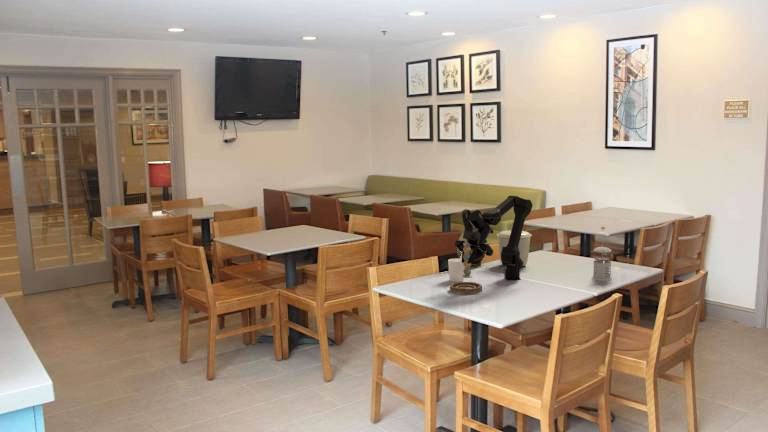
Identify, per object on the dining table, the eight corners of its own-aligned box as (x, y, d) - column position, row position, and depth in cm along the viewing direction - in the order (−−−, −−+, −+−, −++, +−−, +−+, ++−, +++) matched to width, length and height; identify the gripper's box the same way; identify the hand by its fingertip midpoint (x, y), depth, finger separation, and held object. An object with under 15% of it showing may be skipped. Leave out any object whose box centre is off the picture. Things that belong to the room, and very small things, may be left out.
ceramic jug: (466, 260, 368) (466, 206, 364) (491, 263, 358) (491, 208, 354) (449, 265, 355) (448, 209, 351) (474, 269, 345) (474, 211, 341)
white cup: (464, 282, 316) (464, 261, 314) (447, 282, 317) (447, 261, 316) (465, 278, 323) (465, 258, 322) (449, 278, 325) (449, 258, 324)
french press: (589, 279, 316) (590, 227, 312) (593, 274, 326) (594, 224, 323) (610, 281, 311) (612, 228, 308) (615, 276, 321) (616, 225, 318)
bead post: (472, 276, 300) (472, 244, 298) (470, 278, 296) (470, 246, 294) (463, 275, 301) (463, 244, 299) (462, 277, 297) (461, 246, 296)
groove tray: (478, 286, 308) (478, 281, 307) (485, 293, 293) (485, 288, 293) (447, 287, 307) (447, 282, 307) (452, 294, 293) (452, 289, 293)
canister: (494, 268, 346) (494, 228, 343) (498, 261, 363) (498, 223, 360) (530, 269, 340) (530, 228, 338) (532, 262, 358) (533, 223, 355)
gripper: (456, 222, 305) (440, 249, 299) (489, 226, 291) (472, 254, 286) (468, 237, 311) (452, 264, 306) (500, 241, 298) (484, 269, 292)
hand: (465, 262), depth 297 cm, fingers closed on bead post, 3 cm apart
